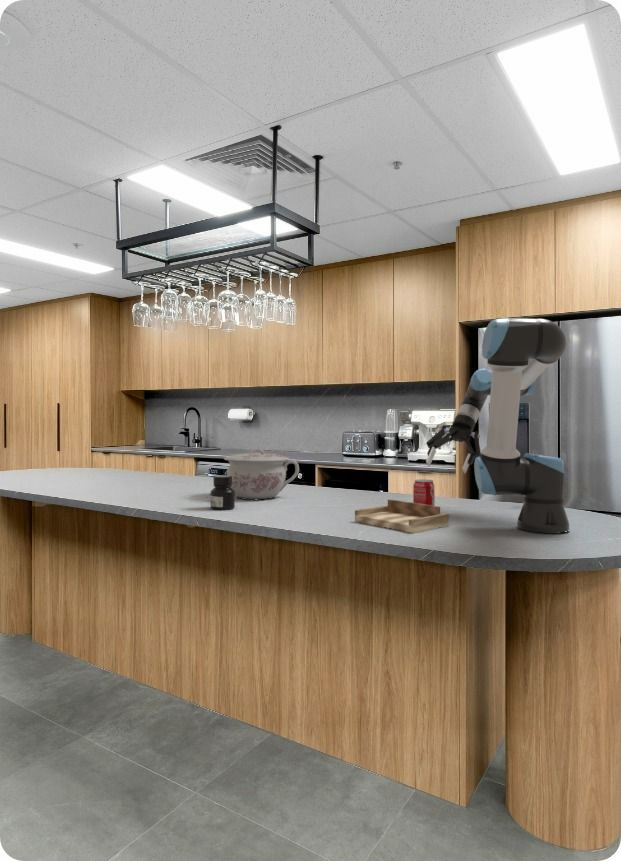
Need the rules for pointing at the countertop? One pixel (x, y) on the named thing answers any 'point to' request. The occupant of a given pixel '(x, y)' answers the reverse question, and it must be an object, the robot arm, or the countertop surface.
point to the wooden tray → (404, 516)
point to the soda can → (424, 492)
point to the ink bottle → (222, 493)
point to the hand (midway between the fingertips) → (445, 467)
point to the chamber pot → (259, 474)
